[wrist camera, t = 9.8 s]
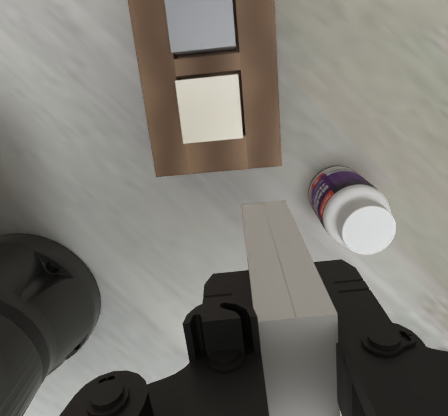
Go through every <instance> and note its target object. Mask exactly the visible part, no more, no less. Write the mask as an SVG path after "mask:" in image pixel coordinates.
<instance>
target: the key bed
mask: <svg viewBox="0 0 448 416" xmlns="http://www.w3.org/2000/svg"><path fill="white" fill-rule="evenodd" d="M232 3H233V16H234V28H235V41H236V48H235V50H231V51H221V52H211V53H202V54H192V55H183V56H179V55H177V54H174V53H171V47H170V40H169V32H168V24H167V17H166V9H165V2H164V0H128V4H129V10H130V17H131V23H132V29H133V35H134V42H135V48H136V54H137V60H138V66H139V73H140V79H141V85H142V91H143V98H144V104H145V110H146V116H147V123H148V129H149V135H150V141H151V148H152V154H153V160H154V166H155V173H156V177H162V176H173V175H184V174H195V173H206V172H218V171H229V170H240V169H251V168H262V167H274V166H282V161H281V139H280V117H279V95H278V73H277V51H276V29H275V7H274V0H232ZM235 74H238V79H239V92H240V105H241V118H242V131H243V138H240V139H229V140H218V141H207V142H197V143H186V144H183V138H182V131H181V123H180V116H179V108H178V100H177V93H176V85H175V81H177V80H185V79H195V78H205V77H215V76H225V75H235Z"/></svg>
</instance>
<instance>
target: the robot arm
mask: <svg viewBox="0 0 448 416" xmlns="http://www.w3.org/2000/svg"><path fill="white" fill-rule="evenodd" d="M242 214H243V223H244V232H245V242H246V251H247V260H248V269H249V270H246V271H236V272H226V273H217V274H213V275H212V276H211V277H210V278H209V280H208V281H207V282H206V283H205V285H204V295H203V297H204V298H203V304H202V305H199V306H197V307H195V308H194V309H193V310H192V311H191V312H190V313H189V314H187V316H186V318H185V320H184V322H183V328H184V333H185V339H186V344H187V350H188V355H189V361H190V362H189V364H188V365H187V366H186V367H185V368H183V369H182V370H180V371H179V372H177V373H176V374H174V375H171V376H169V377H167V378H164V379H161V380H159V381H156V382H153V383H150V384H146V381H145V380H144V379H143V378H142V377H141V376H140V375H139V374H137V373H134V372H130V371H113V372H110V373H107V374H104V375H101V376H99V377H97V378H95V379H94V380H92V381H90V382H89V383H87V384H86V385H85V386H84V387H83V388H82V389H81V390H80V391H79V392H78V393H77V394H76V395H75V396H74V397H73V398H72V400H71V401H70V402H69V404H68V405H67V406H66V408H65V409H64V410H63V412H62V413H61V414H60V416H340V411H341V414H342V416H448V352H447V351H441V350H436V349H431V348H428V347H426V346H425V344H424V343H423V342H422V340H421V339H420V338H419V337H418V336H417V335H416V334H414V333H413V332H412V331H411V330H409V329H407V328H405V327H403V326H401V325H399V324H395V323H392V322H391V320H390V319H389V317H388V316H387V314H386V313H385V311H384V310H383V308H382V307H381V305H380V304H379V302H378V301H377V299H376V298H375V296H374V295H373V293H372V292H371V290H369V287H368V286H367V284H366V283H365V281H363V278H362V277H361V275H360V274H359V272H358V271H357V269H356V268H355V267H353V266H352V265H350V264H348V263H347V262H345V261H343V260H342V259H341V260H331V261H321V262H313V260H312V258H311V256H310V254H309V251H308V249H307V247H306V245H305V243H304V241H303V239H302V236H301V234H300V232H299V230H298V228H297V226H296V223H295V221H294V219H293V217H292V215H291V213H290V211H289V208H288V206H287V204H286V202H285V200H283V201H273V202H264V203H255V204H246V205H242ZM99 314H100V295H99V290H98V287H97V284H96V282H95V280H94V278H93V276H92V274H91V273H90V271H89V270H88V268H87V267H86V266H85V264H84V263H83V262H82V261H81V260H80V259H79V258H78V257H77V256H76V255H75V254H73V253H72V252H71V251H69V250H68V249H66V248H65V247H63V246H61V245H60V244H58V243H56V242H54V241H51V240H49V239H46V238H43V237H39V236H35V235H29V234H8V235H3V236H0V416H23V414H24V413H25V411H26V409H27V408H28V406H29V404H30V402H31V401H32V399H33V397H34V396H35V394H36V392H37V391H38V389H39V387H40V385H41V384H42V382H43V381H44V379H45V377H46V376H48V375H49V374H50V373H51V372H53V371H54V370H55V369H56V368H58V367H59V366H60V365H61V364H62V363H63V362H64V361H65V360H67V359H68V358H70V357H71V356H73V355H74V354H75V353H76V352H77V351H78V350H80V349H81V347H82V346H83V345H84V344H85V343H86V341H87V340H88V338H89V336H90V335H91V333H92V331H93V329H94V327H95V325H96V323H97V321H98V318H99Z"/></svg>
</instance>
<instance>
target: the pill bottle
mask: <svg viewBox="0 0 448 416" xmlns="http://www.w3.org/2000/svg"><path fill="white" fill-rule="evenodd" d="M309 201H310V204H311V206H312V208H313V210H314V212H315V213H316V215H317V217H318V218H319V220H320V222H321V223H322V225H323V227H324V228H325V230H326V232H327V233H328V235H329V236H330V237H331V238H332V239H333V240H334V241H335V242H337V243H338V244H340V245H343V246H346V247H348V248H349V249H350V250H351V251H353V252H355V253H358V254H363V255H370V254H375V253H377V252H380V251H382V250H383V249H385V248H386V247H387V246H388V245H389V244H390V243H391V241H392V240H393V238H394V236H395V232H396V223H395V219H394V217H393V216H392V214H391V209H390V205H389V203H388V201H387V199H386V197H385V196H384V195H383V194H382V193H381V192H380V191H379V190H378V189H376V188H375V187H374V186H373V185H371V184H370V183H369V182H368V181H366V180H365V179H364V178H363V177H361V176H360V175H359V174H358V173H356V172H355V171H353V170H352V169H350V168H347V167H342V166H336V167H331V168H328V169H325V170H324V171H322V172H321V173H319V174H318V175H317V176H316V177H315V178H314V180H313V181H312V183H311V185H310V189H309Z"/></svg>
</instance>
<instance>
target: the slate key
mask: <svg viewBox="0 0 448 416" xmlns="http://www.w3.org/2000/svg"><path fill="white" fill-rule="evenodd" d="M164 2H165V9H166V17H167V24H168V32H169V40H170V47H171V53H174V54H177V55H179V56H183V55H192V54H202V53H211V52H221V51H231V50H235V48H236V41H235V28H234V16H233V3H232V0H164Z"/></svg>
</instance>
